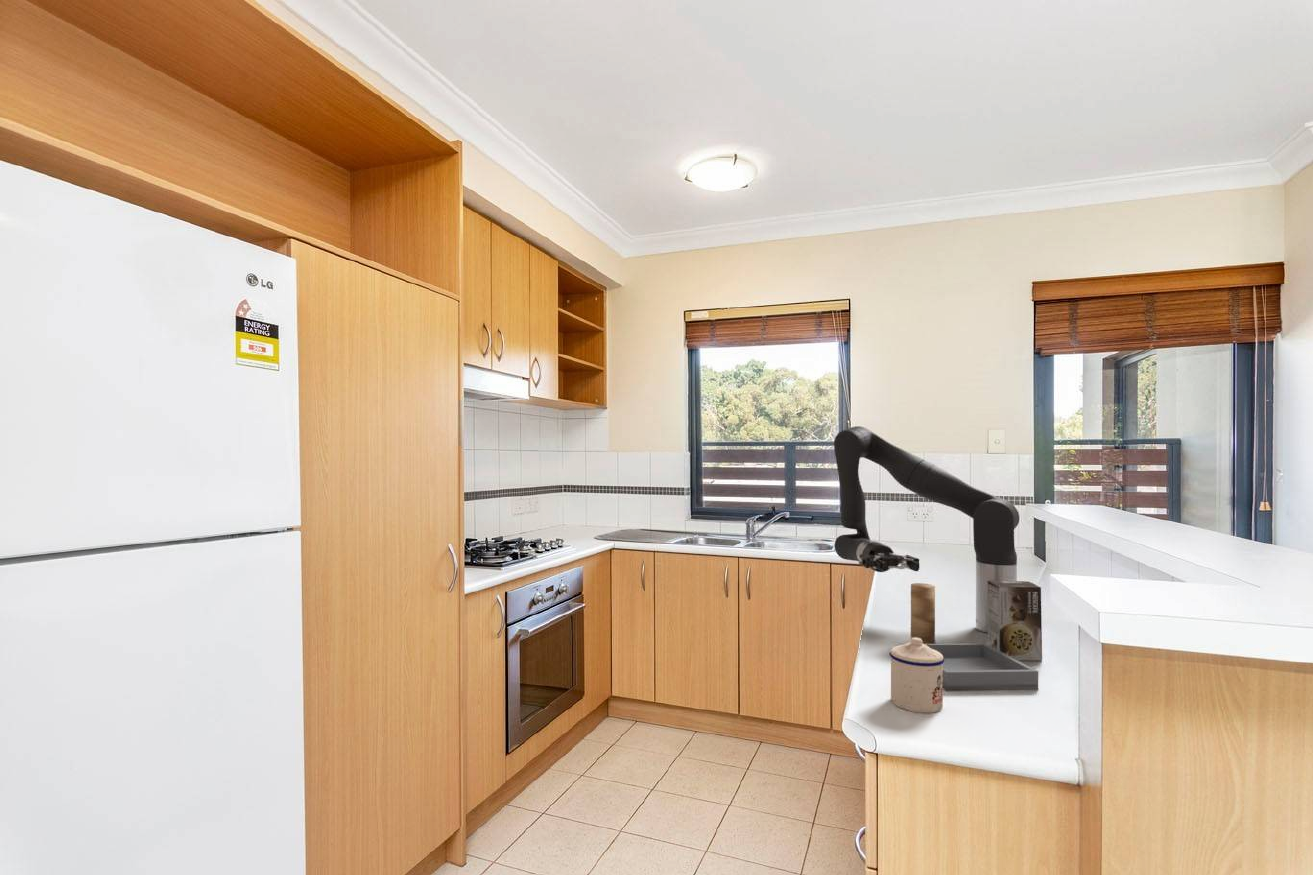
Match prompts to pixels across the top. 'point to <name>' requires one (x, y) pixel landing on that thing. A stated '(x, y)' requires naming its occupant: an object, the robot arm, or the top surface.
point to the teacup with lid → (917, 677)
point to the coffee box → (1015, 619)
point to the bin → (983, 669)
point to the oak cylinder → (923, 612)
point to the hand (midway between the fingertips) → (900, 566)
